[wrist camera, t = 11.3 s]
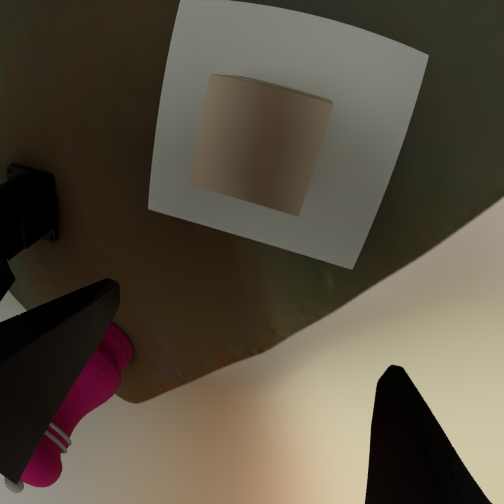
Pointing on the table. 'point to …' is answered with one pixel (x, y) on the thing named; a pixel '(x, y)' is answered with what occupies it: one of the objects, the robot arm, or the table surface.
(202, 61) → the sage plate
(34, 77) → the table surface
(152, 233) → the table surface
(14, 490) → the pepper mill
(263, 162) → the birch cube
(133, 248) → the table surface
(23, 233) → the robot arm
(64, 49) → the table surface
